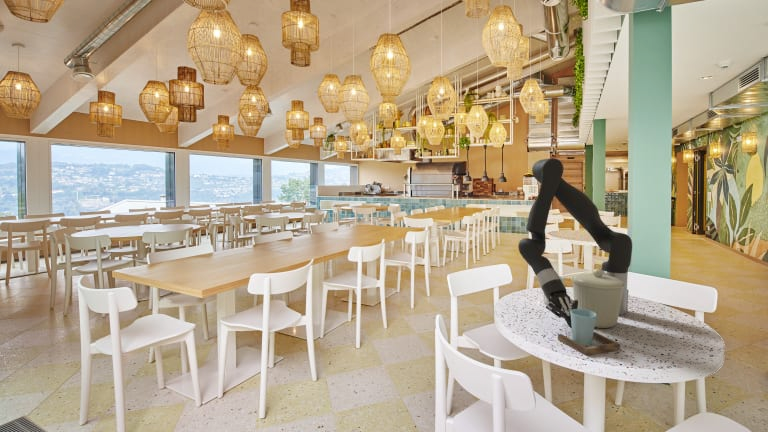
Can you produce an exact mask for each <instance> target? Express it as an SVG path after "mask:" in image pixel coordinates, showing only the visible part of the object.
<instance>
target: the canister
mask: <svg viewBox="0 0 768 432" xmlns="http://www.w3.org/2000/svg"><path fill="white" fill-rule="evenodd" d="M570 281H571V282H572V288H573V290H572V291H573V300H574V301H575V300H577V301H578V308H577V309H584V310H589V311H592V312H594V313H596V321H595V327H594V328H598V329H599V328H600V329H608V328H612V327H614V326H615V325H616V324H617V322H618V319H619V316H620V315H619V311H620V306H621V300H622V295H623V289H624V287H626V284H625V283H624V282H623V281H621V280H620V279H618V278H615V277H612V276H608V275H603V271H602V268H594V269H593V270H592V272H591V273H579V274H575V275H574V276H572V277H570Z"/></svg>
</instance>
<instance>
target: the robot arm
mask: <svg viewBox="0 0 768 432" xmlns="http://www.w3.org/2000/svg"><path fill="white" fill-rule="evenodd" d="M564 169H565V168H564V165H563V162H562V161H561V160H559V159H558V158H552V157H551V158H544V159H539V160H537V161H536V162H534V164H533V165H532V169H531V172H532V175H533V178H534V179H535V180H536V181H537V182H538V183H539V184H540V188H539V191H538V194H537V196H536V199H535V200H534V202H533V204H532V205H531V207H530V210H529V214H528V217H527V218H528V219H527V224H526V231H527V232H528V233H530V235H531V237H530V238H529V237H526V238H522V239H521V240H520V241H519V242H518V251H519V254H520V256H521V257H522V258H523V260H524V261H525V262H526V263H527V264H528V265H529V266H530V267H531V269H532V272H533V274H535V276H536V280H537V282H538V284H539V285H540V288H541V290H542V292H543V295H544V294H545V296H546V298H548V301H549V304H548V305H547V304H546V305H545V308H546V309H547V310H548V311H550V312H551V313H552V314H554V315H555V316H556V317H557V318H562V319H564V320H565V322H566V324H567V326H568V327H569V328H570V329H571V330H572V325H571V313H570V311H571V310H573V309H577V308H578V301H577V300H575V301H574V299H572V298H571V297H570V295H568V292H567V288H566V286H565V284H564V282H563V283H562V281H561V279H560V277H559V276H560V275H559V274H558V273H557V271H556V270H555V269H554V267H553V265H552V263H551V261H550V260H549V259H548V258H547V257H545V256H543V254H544V253H545V251H546V246H547V245H546V240H547V239H546V228H547V223H548V218H549V214H550V209H551V206H552V203H553V200H554V198H556V201H558V202H559V203H560V204H561V205H562V206H563V207H564V208H565V210H566V211H567V212H568V214H570V215H571V216H572V217H573V219H575V220H576V221H577V222H578V223H579V225H580V226H581V227H582V228H583V229H584V230H586V231H587V233H588V234H589V235H590V236H591V238H592V240H594V242H595V243H596V244H597V245H598V247H599V248H600V249H601V250H602V251H603V252H605V253H607V254H608V259H607V261H603V262H602V264H601V270H602V271H603V275H608V276H612V277H615V278H618V279H620V280H621V281H623V282H624V283H625V284H626V287H624V289H623V295H622V300H621V306H620V311H619V316H622V315H626V313H628V311H629V310H628V308H629V307H628V306H629V289H628V274H629V273H628V272H629V268H630V266H631V262H632V255H633V254H632V253H633V240H632V239H631V237H630V235H628V234H626V233H623V232H619V231H618V232H617V231H614V230H612V229H611V228H610V227H609V226H608V225H607V224H606V223H604V221H603V220H602V219H601V215H600V212H599V208H598V207H597V205H596V204H595V202H594V201H592V199H590V197H588V195H586V194H585V192H583V191H581V190H579V189H578V188H576V187H575V186H574V185H572V184H570V183H568V182H567V181H566V180H565V179H564V178H563V175H564Z"/></svg>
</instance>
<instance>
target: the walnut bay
mask: <svg viewBox="0 0 768 432" xmlns="http://www.w3.org/2000/svg"><path fill="white" fill-rule="evenodd" d="M557 340H558V341H559V342H561V343H563V344H565V345H566V346H568V347H570V348H572V349H574V350H575V351H578V352H579V353H580V354H582V355H585V356H592V355H598V354H605V353H609V352H616V351H620V350H621V343H619V342H617V341H615V340H613V339H610V338H609V337H606V336H604V335H602V334H600V333H598V332H595V331H594V332H593V338H592V340H594V341H597V342H599V343H601V344H598V345H593V346H592V345H591V346H583V345H581V344H579V343H577V342H576V341H574V340H573V338H570V337H568V336H566V335H564V334H562V333H558V334H557Z"/></svg>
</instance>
